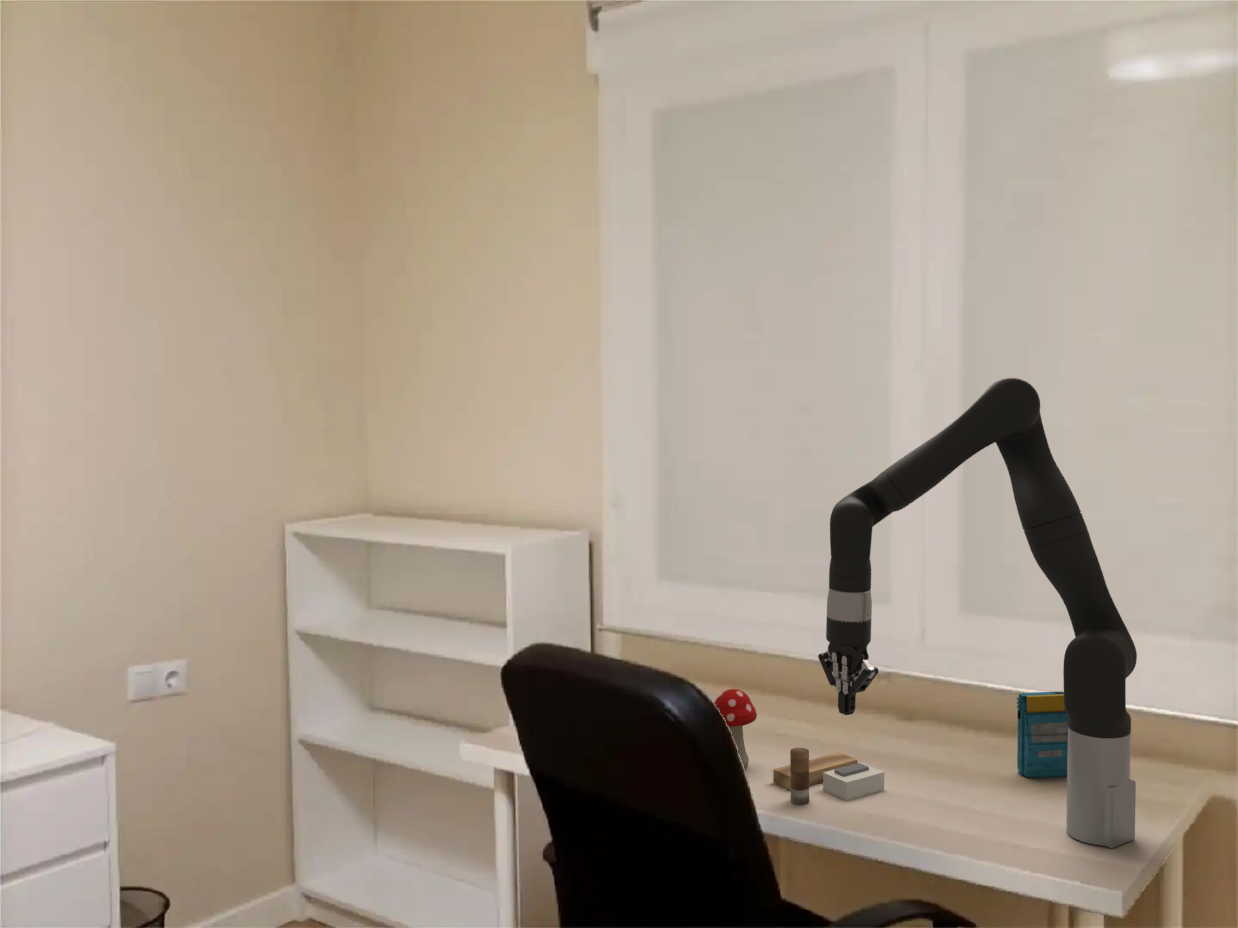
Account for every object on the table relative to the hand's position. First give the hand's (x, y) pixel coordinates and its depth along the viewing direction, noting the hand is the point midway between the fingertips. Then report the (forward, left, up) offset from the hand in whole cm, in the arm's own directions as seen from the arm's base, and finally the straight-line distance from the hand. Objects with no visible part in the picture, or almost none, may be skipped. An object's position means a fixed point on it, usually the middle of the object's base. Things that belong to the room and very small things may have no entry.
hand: (846, 713), depth 196 cm
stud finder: (+4, -5, -16) cm, 17 cm away
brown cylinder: (+5, +6, -16) cm, 18 cm away
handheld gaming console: (-11, -39, -16) cm, 43 cm away
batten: (+12, -4, -16) cm, 20 cm away
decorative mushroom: (+25, +5, -16) cm, 30 cm away
